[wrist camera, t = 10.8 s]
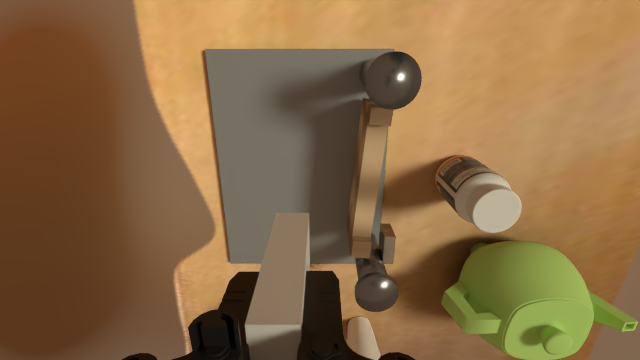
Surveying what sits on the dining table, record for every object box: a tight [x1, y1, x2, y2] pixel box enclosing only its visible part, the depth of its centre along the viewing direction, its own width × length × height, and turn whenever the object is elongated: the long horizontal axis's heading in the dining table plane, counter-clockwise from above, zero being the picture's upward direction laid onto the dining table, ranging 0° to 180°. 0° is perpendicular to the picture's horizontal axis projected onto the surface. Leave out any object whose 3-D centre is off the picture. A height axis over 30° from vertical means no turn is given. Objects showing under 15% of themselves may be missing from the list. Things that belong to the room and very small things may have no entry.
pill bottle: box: [435, 155, 522, 233], centre depth 35 cm, size 6×6×10 cm
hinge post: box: [359, 52, 422, 110], centre depth 31 cm, size 4×4×11 cm
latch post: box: [355, 224, 398, 312], centre depth 38 cm, size 6×5×11 cm
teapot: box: [441, 241, 638, 360], centre depth 39 cm, size 20×13×13 cm
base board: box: [205, 49, 394, 264], centre depth 39 cm, size 27×20×1 cm
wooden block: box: [347, 98, 393, 258], centre depth 35 cm, size 16×2×6 cm, turn 175°
